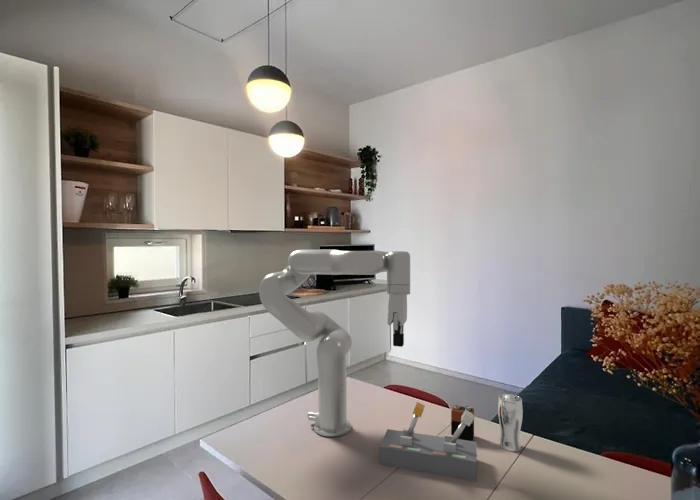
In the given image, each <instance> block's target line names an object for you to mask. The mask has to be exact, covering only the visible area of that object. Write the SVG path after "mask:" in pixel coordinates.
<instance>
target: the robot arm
mask: <svg viewBox="0 0 700 500" xmlns="http://www.w3.org/2000/svg"><path fill="white" fill-rule="evenodd" d="M380 273H386V294H387V295H388V302H387V304H388V305H387V326H391V325H392V333H393V334H392V346H393V347H399V348H400V347H401V348H402V347H403V346H404V345H405V333H404V331H405V330H404V327H405V323H406V322H407V321H408V295H410V294H411V255H410V252H408V251H403V250H402V251H399V250H397V251H396V250H395V251H382V250H339V249H330V248H329V249H326V248H324V249H297V250H294V251H292V252H291V253H290V254H289V256H288V259H287V266H286V267H284V269H283V270H281V271H276V272H272V273H268V274H267V275H266V276H264V277H263V279H262V280H261V282H260V284H259V290H258V292H259V299H260V302H261V304H262V306H263V307H264V309H265V311H267V312H268V313H269V314H270V315H271V316H273V317H274V319H276V320H277V321H278V322H280V323H281V324H282V325H284V327H286V328H287V329H288V330H289V331H290V332H291V333H293V334H294V335H295V336H296V337H297V338H298V339H300V340H301V341H303V342H304V343H305V342H306V343H312V342H315V341H318V342H319V343H318V344H317V347H316V361H317V362H316V363H317V377H318V378H317V381H318V382H317V383H318V386H317V387H318V390H317V392H318V403H317V405H318V407H317V408H318V411H317V412H314V411H308V412H307V419H308V420H307V421H311V422H312V421H313V422H314V423H313V430H314V432H315V433H316V434H318V435H320V436H324V437H331V438H332V437H334V438H335V437H340V436H344V435H346V434H348V433H349V432H350V431H351V430H352V423H351V421H349V420H348V419H347V415H348V414H347V412H348V411H347V410H348V409H347V403H348V402H347V401H348V400H347V396H348V395H347V390H348V387H347V384H348V383H347V382H348V381H347V375H348V374H347V365H346V357H347V354H348V353H349V352H350V350H351V348H352V345H353V343H352V342H353V341H352V337H351V335H350V334H349V332H348V331H346V330H345V329H344V328H343V327H342V326H341V325H339V323H337V322H336V321H335V320H334V319H332V318H331V317H330V316H329V315H327V314H326V313H324V312H322V311H320V310H310V311H308V310H306V309H305V308H304V307H303V306H301V305H300V304H299V303H297V301H294V300H293V299H292V298H290V297H289V296H287V295H289V294H291V293H293V292H294V291H296V290H297V289H298V288H299V287H300V286H301V285H303V283H305V281H306V280H307V279H308V278H309V277H311V275H326V276H327V275H331V276H333V275H334V276H338V275H348V276H349V275H352V276H354V275H357V276H361V275H364V276H365V275H366V276H368V275H369V276H372V275H377V274H380Z"/></svg>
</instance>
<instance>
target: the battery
mask: <svg viewBox="0 0 700 500" xmlns="http://www.w3.org/2000/svg"><path fill="white" fill-rule="evenodd" d="M465 410H467V411H469V412H470V413H472V414H473V415H474V416H475V409H474V408H473V407H472V406H471V405H464V406H463V405H461V406H460V405H459V404H454V405H452V406H451V411H450V418H451V419H450V421H451V422H450V426H451V427H450V430H451V431H450V432H451V433H450V435H454V433H455V432H456V430H457V428H458V427H459V425H460V424H461V422H462V421H461V416H462V415H463V413H464V411H465ZM474 437H475V419H474V420H473V421H472V423H471V424H470V426H468V425H466V426H465V428H464V429H463V431H462V432H461V434H460V436H459V437H458V439H460V440H467V441H474Z"/></svg>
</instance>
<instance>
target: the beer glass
mask: <svg viewBox="0 0 700 500" xmlns="http://www.w3.org/2000/svg"><path fill="white" fill-rule="evenodd" d="M523 410H524V409H523V399H522V398H521V397H520V396H518V395H516V394H511V393H503V394H499V395H498V402H497V415H498V423H499V428H500V438H499V439H500V440H499V447H500V448H501V449H503V450H505V451H508V452H512V453H514V452H515V453H516V452H520V451H521V448H522V447H521V441H520V440H521V439H520V435H521V430H522V428H521V427H522V424H523V413H524V411H523Z"/></svg>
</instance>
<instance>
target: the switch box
mask: <svg viewBox="0 0 700 500" xmlns="http://www.w3.org/2000/svg"><path fill="white" fill-rule="evenodd" d="M408 429H409V428H402V430H396V429H388V428H387V430H386V431H385V434H384V436H383V438H382V440H381V443H380V444H379V448H378V449H379V453H378V454H379V457H378V458H379V463H378V464H379V465H382V466H387V467H393V468H399V469H405V470H411V471H418V472H422V473H428V474H433V475H440V476H445V477H452V478H456V479H457V478H458V479H464V480H469V481H474V482H475V481H476V482H477V480H478V479H477V478H478V477H477V473H478V472H477V471H478V470H477V467H478V466H477V465H478V464H477V462H478V460H477V459H478V458H477V441H474V440H473V441H467V440H462V439H457V440H456V442H455V443H449V441H450V439H451V438H452V436H453V435H451V434H446V433H445V434H444V436H437V435H431V434H424V433H418V432H415V429H414V430H413V433H412V435H411V437H408V436H406V434H407V432H408Z"/></svg>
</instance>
